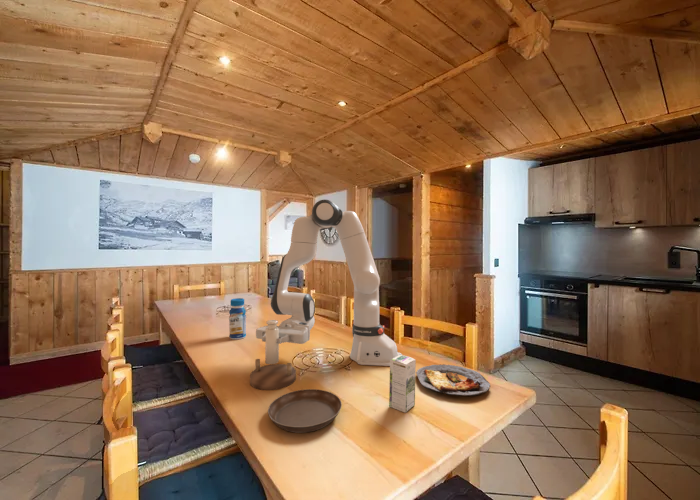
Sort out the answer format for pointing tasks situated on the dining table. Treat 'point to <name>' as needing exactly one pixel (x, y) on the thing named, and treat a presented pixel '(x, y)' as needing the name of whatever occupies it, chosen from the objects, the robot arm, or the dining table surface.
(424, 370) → the food plate
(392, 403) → the syrup box
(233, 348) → the dining table surface
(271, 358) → the bud vase
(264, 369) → the pedestal
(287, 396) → the plant saucer
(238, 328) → the beverage bottle
